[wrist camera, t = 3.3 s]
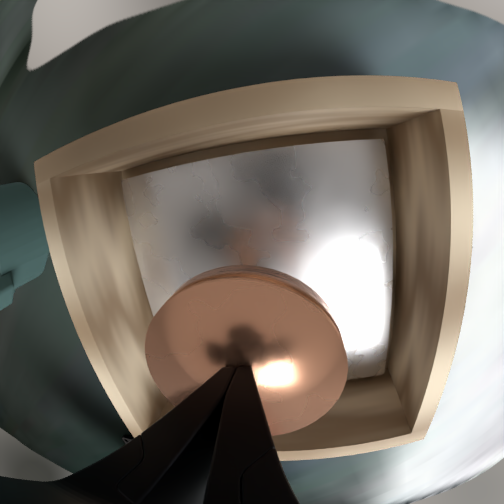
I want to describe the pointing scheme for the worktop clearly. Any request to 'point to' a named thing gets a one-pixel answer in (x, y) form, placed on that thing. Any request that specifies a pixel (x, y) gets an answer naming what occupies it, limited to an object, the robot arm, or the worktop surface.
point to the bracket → (20, 239)
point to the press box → (260, 138)
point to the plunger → (268, 272)
